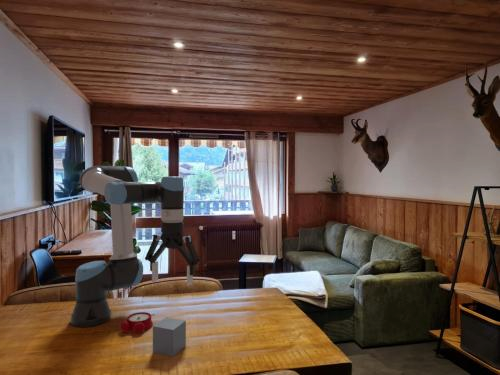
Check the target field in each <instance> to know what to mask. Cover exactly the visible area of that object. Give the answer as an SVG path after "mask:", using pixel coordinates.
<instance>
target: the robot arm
mask: <svg viewBox="0 0 500 375" xmlns="http://www.w3.org/2000/svg"><path fill="white" fill-rule="evenodd" d="M79 185H80V187H81V188H82V189H83V190H85V191H87V192H88V193H93V194H95V193H97V194H99V195H101V196H103V197H104V200H105V201H106V203H107V204H108V205H110V220H111V223H110V224H111V239H112V242H111V244H112V255H111V256H110V257H109V259H108V260H109V263H107V262H106V261H105V260H94V261H90V262H86V263H83V264H81V265H79V266H78V267H77V268H76V270H75V279H74V281H75V304H74V307H73V310H72V314H71V317H70V323H71V325H72V326H74V327H77V328H78V327H79V328H87V327H88V328H89V327H95V326H99V325H102V324H105V323H107V322H108V321H109V320H111V319H112V310H111V308H110V305H109V302H108V299H107V298H108V297H107V293H108V292H112V291H118V290H121V289H126V288H127V289H128V288H131V287H134V286H137V285H139V284H140V282H141V281H142V278H143V277H144V276H143V275H144V265H143V261H142V259H140V258H138V254H136V253H135V252H134V241H133V240H134V239H133V238H134V236H133V221H132V220H133V219H132V217H133V216H132V204H153V203H155V204H156V203H159V204H160V213H161V215H160V221H162V222H160V233H161V234H160V233H156V234H153V236H152V241H151V243H150V246H149V248H148V250H147V253H146V255H145V256H144V260H145V261H148V262H149V268H150V269H149V271H150V272H151V282H153V283H154V282H156V281H158V280H159V261H158V258H159V257H160V256H161V255H162V253H163V252H164V251H165V250H166V249H173V250H175V249H176V250H177V251H178V252H180V255H181V256H182V257H183V259H184V260H185V261H186V263H187V264H188V265H187V266H186V286H188V287H189V286H191V285H192V284H193V282H194V278H193V277H194V275H196V274H195V273H196V266H197V265H199V264H200V263H201V259H200V257H199V255H198V252H197V250H196V247H195V246H194V244H193V238H192V235H188V236H184V222H183V221H184V197H185V196H184V193H185V192H184V189H185V187H184V179H183V177H182V176H162V177H161V180H160V181H139V178H138V175H137V171H135V169H134V168H132V167H131V166H124V165H94V166H93V165H92V166H90V167H88V168H85V169H84V170H83V171H82V172H81V173H80V175H79ZM160 241H161V244H160V245H159V243H160ZM184 243H185V245H184ZM158 245H159V247H158ZM157 247H158V248H157Z"/></svg>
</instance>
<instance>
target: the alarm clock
mask: <svg viewBox="0 0 500 375" xmlns="http://www.w3.org/2000/svg"><path fill="white" fill-rule="evenodd" d="M152 316H155V313H152V314H151V313H150V312H145V311H141V312H139V311H138V312H133V313H131V314H129V315H127V318H126V320H124V321H122V322H121V324H120V330H121V332H123V333H135V334H138V335H139V334H143V333H144V331H147V330H149V329H150V328H153V326H154V322H153V321H152Z"/></svg>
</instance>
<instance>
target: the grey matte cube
mask: <svg viewBox="0 0 500 375" xmlns="http://www.w3.org/2000/svg"><path fill="white" fill-rule="evenodd" d="M186 346H187V320H185V319H180V318H179V319H178V318H173V317H167V316H166V317H165V318H163V319H161V320H160V321H159V322H157V323H155V324H153V326H152V353H153V354H156V355H162V356H168V357H171V358H174V357H175V356H177V354H179V353H180V352H181V351H182V350H183V349H184V348H185V347H186Z"/></svg>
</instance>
